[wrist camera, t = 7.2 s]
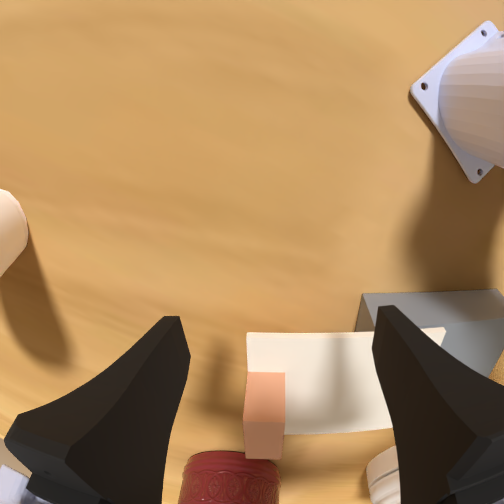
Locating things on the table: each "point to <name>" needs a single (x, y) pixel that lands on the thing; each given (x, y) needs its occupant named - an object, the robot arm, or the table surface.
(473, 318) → the carton
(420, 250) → the table surface
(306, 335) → the carton lid
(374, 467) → the honey pot
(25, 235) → the foam cup
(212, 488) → the canister
